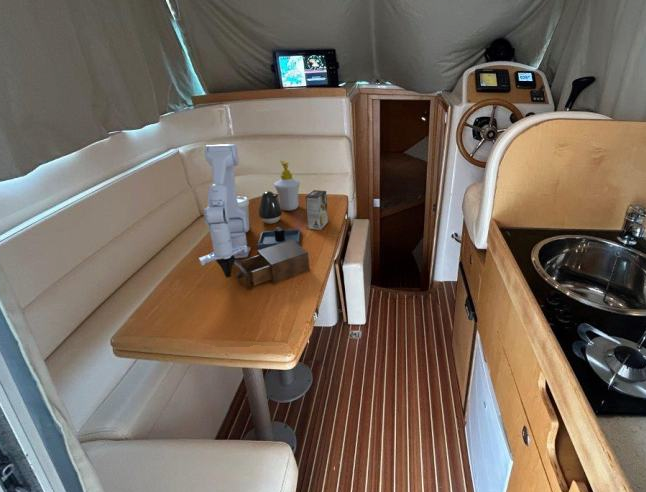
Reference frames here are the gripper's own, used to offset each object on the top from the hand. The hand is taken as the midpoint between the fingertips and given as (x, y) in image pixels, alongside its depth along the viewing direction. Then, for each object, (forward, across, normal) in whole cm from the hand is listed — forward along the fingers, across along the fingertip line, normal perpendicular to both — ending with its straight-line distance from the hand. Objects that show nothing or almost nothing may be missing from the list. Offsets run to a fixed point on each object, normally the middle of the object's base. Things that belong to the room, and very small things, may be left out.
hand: (227, 275), depth 122 cm
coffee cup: (+3, +18, +40) cm, 44 cm away
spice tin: (+3, +27, +19) cm, 33 cm away
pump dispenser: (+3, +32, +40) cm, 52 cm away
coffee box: (+3, +47, +23) cm, 53 cm away
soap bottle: (+3, +46, +51) cm, 69 cm away
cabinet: (+3, +18, -4) cm, 19 cm away
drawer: (+2, +9, -4) cm, 10 cm away
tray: (+3, +27, +19) cm, 33 cm away
